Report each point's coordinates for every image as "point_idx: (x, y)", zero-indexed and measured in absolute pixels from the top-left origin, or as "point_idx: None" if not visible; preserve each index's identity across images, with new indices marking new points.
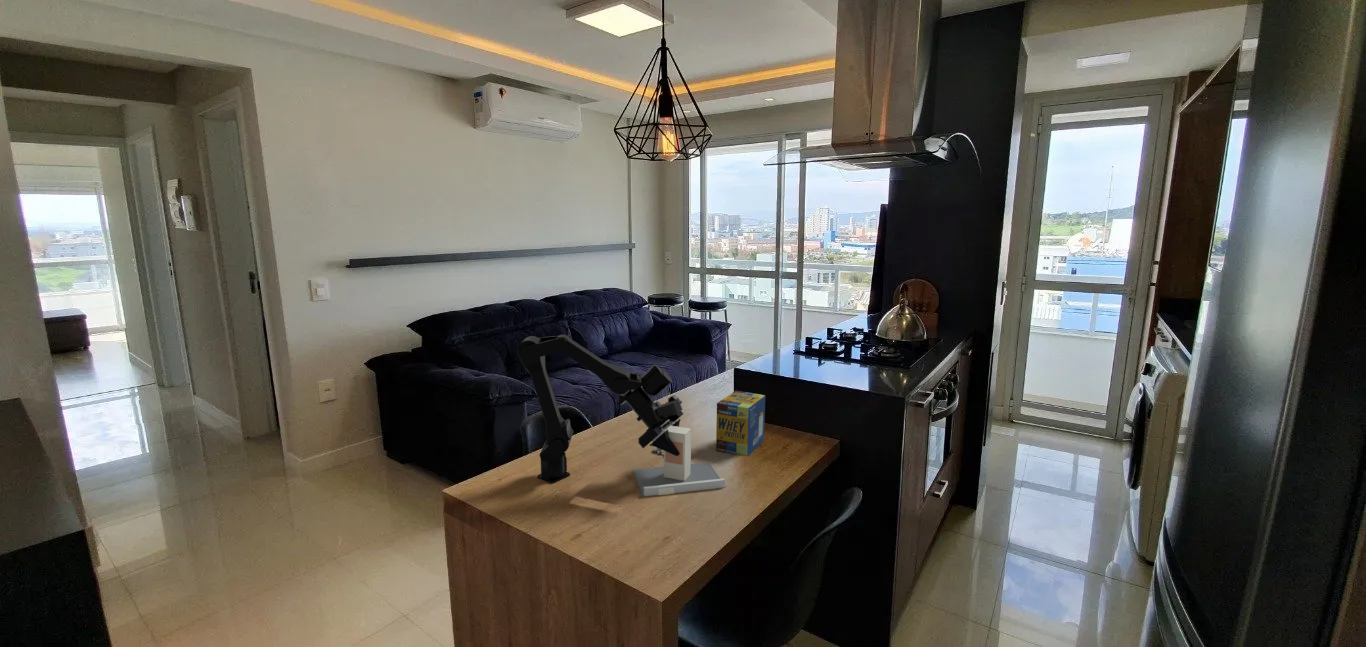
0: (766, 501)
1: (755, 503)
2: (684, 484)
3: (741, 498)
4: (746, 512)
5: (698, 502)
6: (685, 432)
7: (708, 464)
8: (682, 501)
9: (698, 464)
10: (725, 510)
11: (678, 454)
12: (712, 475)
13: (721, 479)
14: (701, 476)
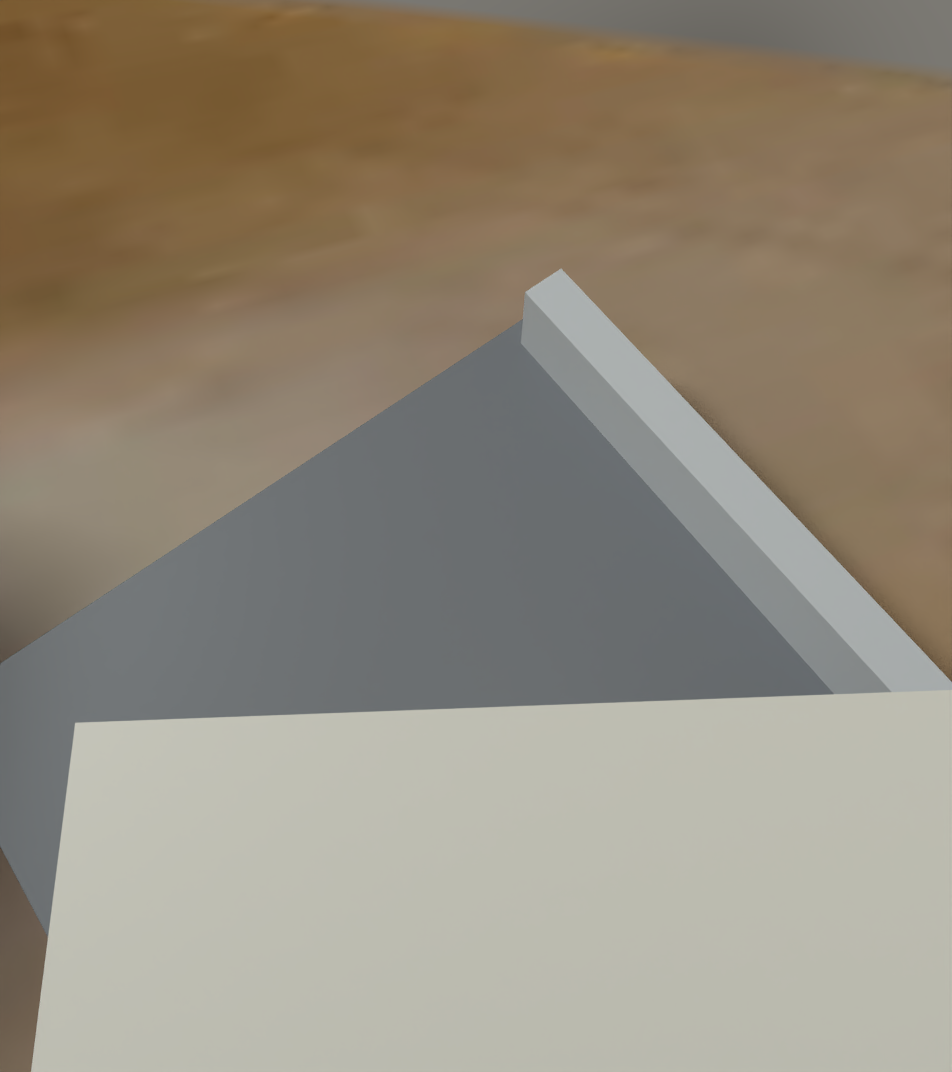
0: (542, 33)
1: (616, 89)
2: (926, 657)
3: (584, 199)
4: (797, 108)
5: (864, 509)
6: (775, 771)
7: (2, 691)
8: (941, 669)
9: (34, 825)
10: (862, 250)
11: None
12: (318, 528)
13: (563, 301)
14: (394, 641)
